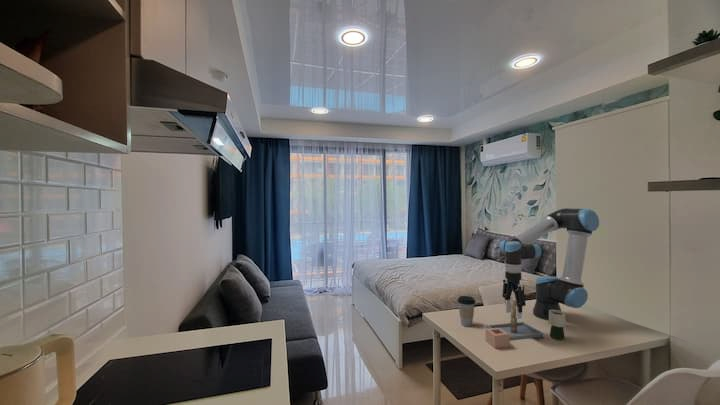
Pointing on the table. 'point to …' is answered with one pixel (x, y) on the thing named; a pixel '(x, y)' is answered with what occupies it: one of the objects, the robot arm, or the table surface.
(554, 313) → the character mug
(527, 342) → the table surface
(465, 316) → the coffee cup
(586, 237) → the robot arm
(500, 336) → the pink square tube
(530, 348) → the table surface
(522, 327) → the tray
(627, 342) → the table surface
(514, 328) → the dowel
